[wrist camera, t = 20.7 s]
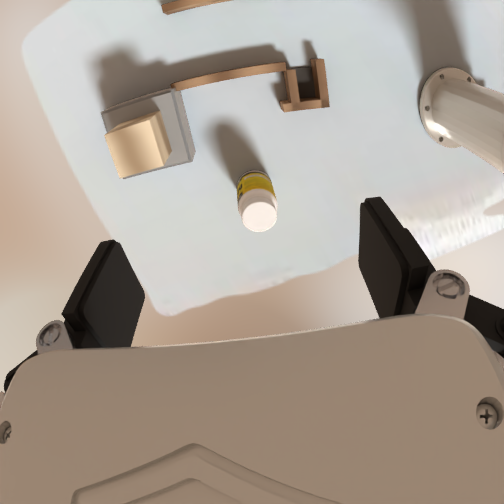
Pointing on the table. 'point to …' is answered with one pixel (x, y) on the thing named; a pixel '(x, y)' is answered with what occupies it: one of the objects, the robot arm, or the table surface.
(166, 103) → the stand
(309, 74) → the channel
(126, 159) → the block
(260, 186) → the supplement bottle
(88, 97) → the table surface
